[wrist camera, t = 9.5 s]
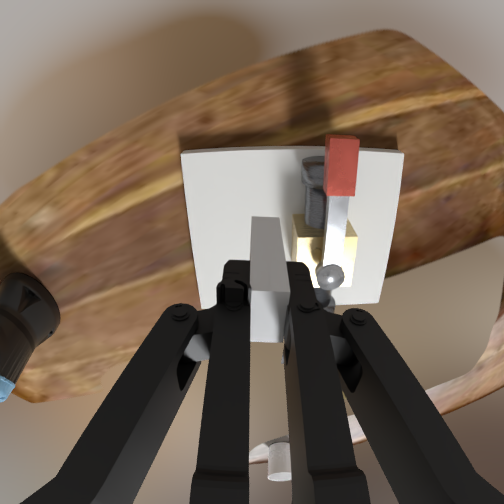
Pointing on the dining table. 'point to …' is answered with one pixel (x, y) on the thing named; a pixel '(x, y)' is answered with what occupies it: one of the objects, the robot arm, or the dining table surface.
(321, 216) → the valve body
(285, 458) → the white cup
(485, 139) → the dining table surface
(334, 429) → the robot arm
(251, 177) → the mounting board
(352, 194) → the valve lever
